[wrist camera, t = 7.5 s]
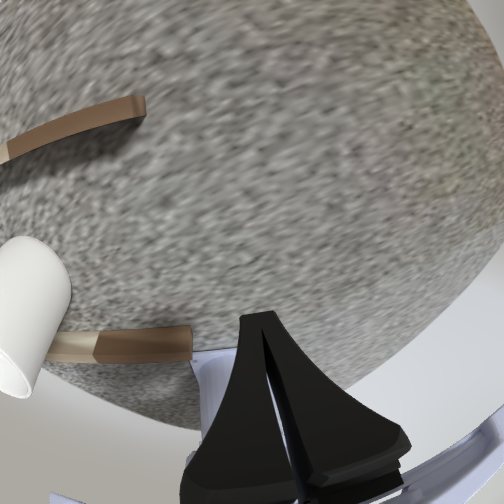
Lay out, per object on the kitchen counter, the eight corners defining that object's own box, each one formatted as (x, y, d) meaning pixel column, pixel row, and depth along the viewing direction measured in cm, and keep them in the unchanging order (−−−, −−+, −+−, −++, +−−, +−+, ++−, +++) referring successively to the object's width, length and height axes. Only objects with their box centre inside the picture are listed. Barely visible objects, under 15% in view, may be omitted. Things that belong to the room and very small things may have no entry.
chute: (192, 334, 23) (192, 360, 21) (40, 339, 22) (31, 359, 19) (144, 96, 13) (130, 95, 11) (-33, 168, 12) (-54, 180, 9)
